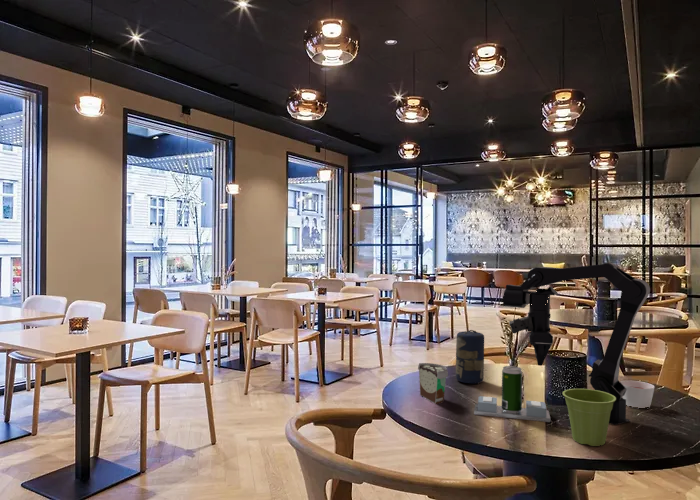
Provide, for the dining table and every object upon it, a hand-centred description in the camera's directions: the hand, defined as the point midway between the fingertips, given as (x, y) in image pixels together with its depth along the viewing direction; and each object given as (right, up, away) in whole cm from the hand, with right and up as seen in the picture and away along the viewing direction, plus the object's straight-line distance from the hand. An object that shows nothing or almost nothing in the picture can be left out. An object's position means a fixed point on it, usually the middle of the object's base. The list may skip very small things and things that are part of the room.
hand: (538, 361), depth 152 cm
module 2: (-4, -13, -10) cm, 17 cm away
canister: (-14, -13, +27) cm, 33 cm away
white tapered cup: (+30, -14, +1) cm, 33 cm away
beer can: (-11, -12, -8) cm, 18 cm away
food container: (-29, -13, +6) cm, 33 cm away
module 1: (-17, -12, -6) cm, 21 cm away
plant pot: (+2, -14, -27) cm, 30 cm away
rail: (-11, -13, -8) cm, 18 cm away
